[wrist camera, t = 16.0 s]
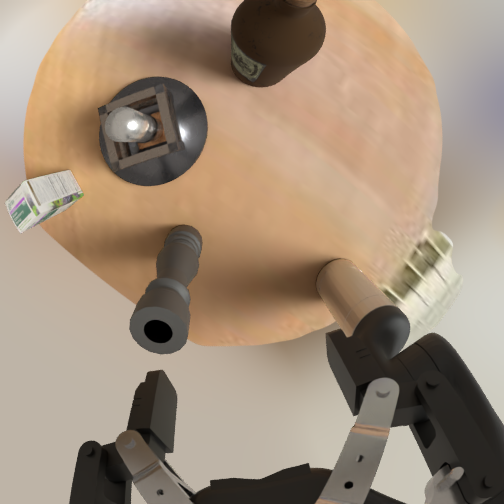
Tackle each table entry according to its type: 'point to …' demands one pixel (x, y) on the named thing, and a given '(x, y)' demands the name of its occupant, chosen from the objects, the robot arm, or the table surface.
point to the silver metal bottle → (132, 126)
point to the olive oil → (274, 38)
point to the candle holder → (168, 294)
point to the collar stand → (173, 136)
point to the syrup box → (42, 199)
